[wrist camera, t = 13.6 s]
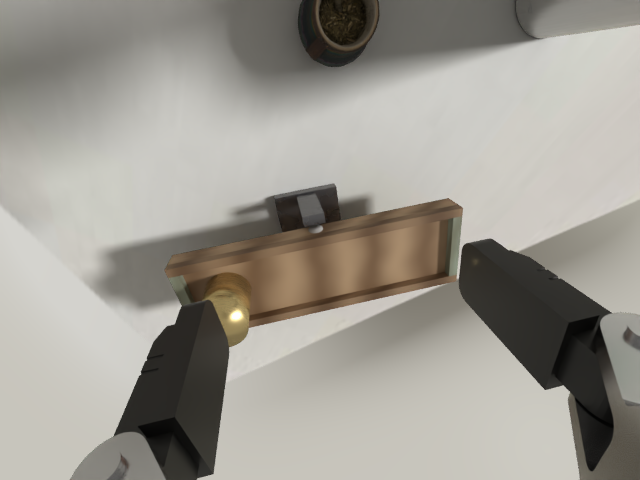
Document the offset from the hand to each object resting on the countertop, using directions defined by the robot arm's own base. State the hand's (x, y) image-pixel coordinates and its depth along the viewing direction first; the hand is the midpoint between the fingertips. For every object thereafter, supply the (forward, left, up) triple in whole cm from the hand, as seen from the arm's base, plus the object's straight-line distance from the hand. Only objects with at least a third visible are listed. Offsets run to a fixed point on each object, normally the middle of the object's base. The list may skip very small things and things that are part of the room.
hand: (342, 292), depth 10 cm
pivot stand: (-1, +14, -30) cm, 33 cm away
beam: (-1, +14, -23) cm, 27 cm away
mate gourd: (-6, -10, -30) cm, 33 cm away
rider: (+10, +14, -21) cm, 27 cm away
